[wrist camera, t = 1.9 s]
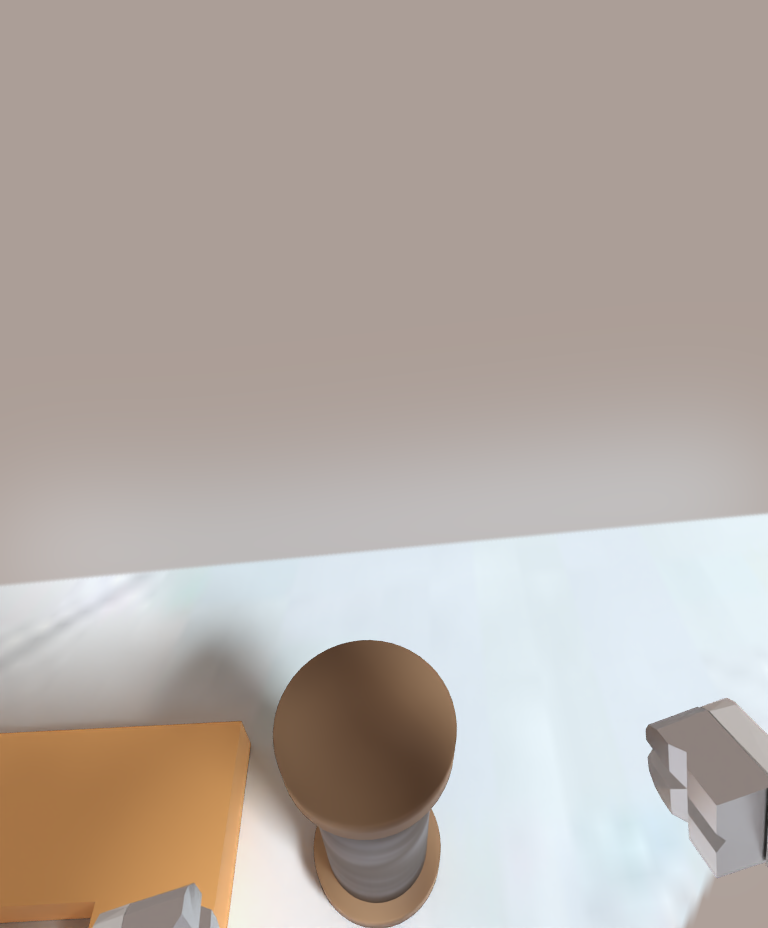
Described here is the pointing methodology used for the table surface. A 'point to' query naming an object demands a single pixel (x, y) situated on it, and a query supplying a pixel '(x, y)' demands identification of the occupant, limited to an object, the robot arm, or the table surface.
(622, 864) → the table surface
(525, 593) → the table surface
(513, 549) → the table surface
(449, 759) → the cord spool
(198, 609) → the table surface
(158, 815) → the orange notched slab
